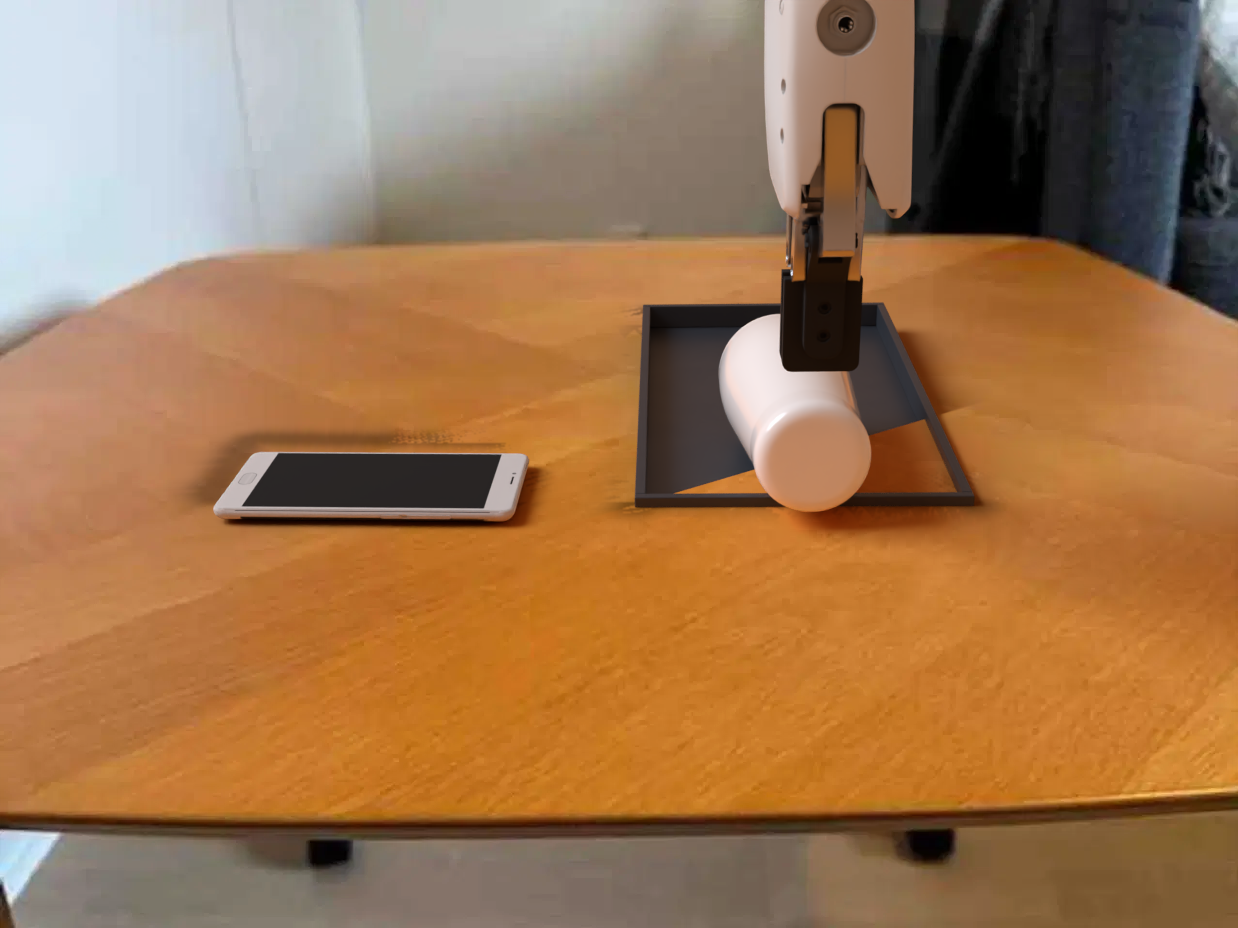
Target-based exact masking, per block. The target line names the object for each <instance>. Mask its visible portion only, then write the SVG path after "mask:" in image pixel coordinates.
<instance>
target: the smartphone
mask: <svg viewBox="0 0 1238 928" xmlns="http://www.w3.org/2000/svg"><path fill="white" fill-rule="evenodd" d="M529 463H530V458H529V456H528V455H527V454H525V453H517V452H515V453H509V452H507V453H506V452H503V453H502V452H501V453H500V452H497V453H495V452H492V453H491V452H490V453H489V452H358V451H357V452H356V451H355V452H352V451H351V452H350V451H349V452H348V451H347V452H345V451H344V452H343V451H342V452H340V451H339V452H337V451H334V452H333V451H332V452H331V451H330V452H328V451H327V452H325V451H257V452H254V453H253V454H251V455H250V456H249V458H248V459H247V460H246V462H245V463H244V464H243V466H242V467H241V469H240V470H239V471H238V473H237V474H236V475H235V476H234V478H233V480H232V481H231V482H230V484H229V485H228V486H227V487H226V489H225V490H224V492H223V493H222V494H221V496H220V497H219V499H218V500H217V501H216V503H215V504H214V505H213V509H212V510H213V513H214V515H215V516H216V517H217V518H219V519H222V520H300V521H301V520H302V521H303V520H305V521H306V520H307V521H309V520H310V521H311V520H313V521H314V520H318V521H320V520H321V521H322V520H324V521H417V522H418V521H421V522H423V521H425V522H426V521H427V522H428V521H429V522H433V521H434V522H506V521H509V520H510V519H512V518H513V516H514V515H515V513H516V509H517V507H518V503H519V499H520V496H521V492H522V488H523V486H524V482H525V479H526V474H527V470H528V467H529Z"/></svg>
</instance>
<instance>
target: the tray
mask: <svg viewBox="0 0 1238 928" xmlns="http://www.w3.org/2000/svg"><path fill="white" fill-rule="evenodd" d="M780 307H781V302H778V303H775V302H773V303H772V302H769V303H766V302H765V303H677V304H676V303H672V304H671V303H670V304H669V303H668V304H667V303H665V304H664V303H663V304H662V303H661V304H660V303H659V304H642V317H641V342H640V366H639V387H638V389H639V390H638V410H637V411H638V413H637V433H636V434H637V437H636V456H635V457H636V458H635V479H634V480H635V482H634V483H635V484H634V508H636V509H637V508H787V507H786V506H783V505H782V504H780V503H778V502H777V501H775V500H774V499H773V498H772V497H771V496H770V495H769V494H768V493H767V492H717V493H716V492H714V493H711V492H710V493H709V492H708V493H707V492H705V493H703V492H701V493H699V492H697V493H693V492H692V493H680V492H684V491H687V490H690V489H694V488H698V487H701V486H704V485H708V484H710V483H714V482H717V481H721V480H724V479H727V478H730V477H735V476H739V475H741V474H743V473H747V472H752V471H755V470H754V466H753V464H752V462H751V460H750V459H749V457H748V455H747V453H746V451H745V450H744V448H743V446H742V444H741V443H740V441H739V439H738V438H737V436H736V434H735V432H734V431H733V429H732V427H731V425H730V423H729V421H728V419H727V416H726V414H725V411H724V408H723V405H722V400H721V396H720V388H719V364H720V360H721V357H722V354H723V351H724V349H725V347H726V345H727V344H728V342H729V341H730V339H731V338H732V337H733V336H734V334H735V333H736V332H737V331H739V330H740V329H741V328H742V327H743V326H745V325H746V324H748V323H750V322H751V321H753V320H755V319H758V318H760V317H763V316H767V315H773V314H780ZM849 373H850V376H851V379H852V383H853V387H854V391H855V395H856V400H857V404H858V408H859V412H860V415H861V419H862V423H863V425H864V427H865V428H866V431H867V433H868V436H869V437H870V436H873V435H876V434H880V433H883V432H887V431H891V430H893V429H897V428H899V427H904V426H906V425H910V424H913V423H917V422H920V421H923V420H924V421H925V423H926V426H927V428H928V430H929V432H930V434H931V437H932V438H933V441H934V443H935V445H936V448H937V450H938V453H939V455H940V457H941V459H942V462H943V463H944V466H945V468H946V470H947V472H948V475H949V477H950V479H951V482H952V484H953V486H954V488H955V490H956V491H937V492H936V491H930V492H929V491H926V492H925V491H924V492H923V491H918V492H912V491H911V492H909V491H908V492H907V491H905V492H904V491H902V492H901V491H900V492H897V491H896V492H895V491H893V492H890V491H889V492H856V493H855V494H854V495H853V496H852V497H850V498H849V499H848V500H847V501H845V502H844V503H842V504H840V505H838V506H836V507H835V508H837V507H840V508H842V507H845V508H847V507H853V508H855V507H974V506H975V494H974V492H973V490H972V488H971V486H970V483H969V481H968V479H967V477H966V475H965V473H964V471H963V469H962V467H961V464H960V462H959V460H958V458H957V455H956V453H955V452H954V449H953V447H952V444H951V443H950V441H949V439H948V436H947V435H946V432H945V430H944V428H943V426H942V424H941V421H940V420H939V418H938V416H937V413H936V411H935V408H934V407H933V404H932V402H931V401H930V400H931V399H930V398H929V397H928V394H927V392H926V390H925V387H924V385H923V383H922V381H921V379H920V377H919V374H918V373H917V370H916V369H915V366H914V364H913V362H912V360H911V358H910V356H909V353H908V351H907V349H906V347H905V345H904V343H903V341H902V339H901V337H900V334H899V332H898V330H897V328H896V326H895V324H894V321H893V319H892V318H891V316H890V313H889V311H888V309H887V307H886V305H885V303H884V302H883V301H882V302H881V301H878V302H862V314H861V334H860V354H859V365H858V367H857V368H856V369H855V370H853V371H849Z"/></svg>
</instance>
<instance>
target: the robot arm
mask: <svg viewBox="0 0 1238 928" xmlns="http://www.w3.org/2000/svg"><path fill="white" fill-rule="evenodd" d="M915 18H916V17H915V0H764V33H763V34H764V36H763V38H764V39H763V40H764V42H763V43H764V44H763V45H764V46H763V47H764V48H763V51H764V52H763V75H764V76H763V77H764V78H763V80H764V81H763V82H764V83H763V84H764V89H763V90H764V111H765V112H764V115H765V117H764V118H765V136H766V148H767V159H768V160H767V161H768V170H769V171H768V172H769V175H770V179H771V184H772V186H773V189H774V193H775V195H776V198H777V200H778V201H777V202H778V203H779V206H780V208H781V210H782V211H784V212H785V213H786V214H785V215H786V216H785V265H786V268H781V271H780V277H781V278H780V303H781V307H780V345H779V352H780V357H781V360H782V365H783V367H784V369H785V370H786V371H789V372H837V371H853V370H855V369H856V368H857V367H858V365H859V354H860V334H861V314H862V303H863V293H864V292H863V291H864V278H863V275H862V262H863V249H864V234H865V221H866V206H867V192H868V191H867V190H868V189H869V190H870V193H871V194H872V195H873V197H874V199H875V200H876V202H877V204H878V205H879V207H880V208H881V210H885V212H886V214H887V215H888V216H889V217H890V218H891V219H899V218H901V217H902V216H903V215H904V214H906V213H907V212H908V211H909V209H910V208H911V205H912V181H913V180H912V178H913V177H912V176H913V174H912V172H913V131H914V129H913V126H914V89H915V86H914V85H915V39H916V37H915V34H916V33H915V32H916V31H915V30H916V29H915V27H916V26H915V24H916V23H915Z"/></svg>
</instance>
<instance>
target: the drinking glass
mask: <svg viewBox="0 0 1238 928" xmlns="http://www.w3.org/2000/svg"><path fill="white" fill-rule="evenodd" d="M779 345H780V314H773V315H767V316H763V317H760V318H758V319H755V320H753V321H751V322H750V323H748V324H746V325H745V326H743V327H742V328H741V329H740V330H739V331H737V332H736V333H735V334H734V336H733V337H732V338H731V339H730V341H729V342H728V344H727V345H726V347H725V349H724V351H723V354H722V357H721V360H720V364H719V388H720V396H721V400H722V405H723V408H724V411H725V414H726V416H727V419H728V421H729V423H730V425H731V427H732V429H733V431H734V432H735V434H736V436H737V438H738V439H739V441H740V443H741V444H742V446H743V448H744V450H745V451H746V453H747V455H748V457H749V459H750V460H751V462H752V464H753V466H754V470H753V471H754V473H755V476H756V478H757V480H758V482H759V484H760V485H761V487H762V489H763V490H764V491H765V493H768V494H769V495H770V496H771V497H772V498H773V499H774V500H775V501H777V502H778V503H780V504H782V505H783V506H786V507H785V508H787V509H791V510H793V511H796V512H797V511H798V512H803V513H818V512H823V511H828V510H831V509H833V508H837V507H836V506H838V505H840V504H842V503H844V502H845V501H847V500H848V499H849V498H850V497H852V496H853V495H854V494H855V493H858V491H859V489H860V488H861V487H862V486H863V484H864V483H865V480H866V479H867V476H868V474H869V472H870V471H869V470H870V467H871V463H872V444H871V440H870V436H868V433H867V431H866V428H865V427H864V425H863V423H862V419H861V415H860V412H859V408H858V404H857V400H856V395H855V391H854V387H853V383H852V379H851V376H850V373H849V371H837V372H789V371H786V370H785V369H784V367H783V365H782V360H781V357H780V352H779Z"/></svg>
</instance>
